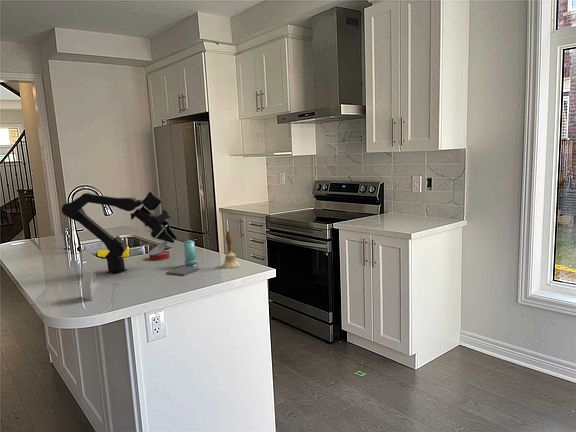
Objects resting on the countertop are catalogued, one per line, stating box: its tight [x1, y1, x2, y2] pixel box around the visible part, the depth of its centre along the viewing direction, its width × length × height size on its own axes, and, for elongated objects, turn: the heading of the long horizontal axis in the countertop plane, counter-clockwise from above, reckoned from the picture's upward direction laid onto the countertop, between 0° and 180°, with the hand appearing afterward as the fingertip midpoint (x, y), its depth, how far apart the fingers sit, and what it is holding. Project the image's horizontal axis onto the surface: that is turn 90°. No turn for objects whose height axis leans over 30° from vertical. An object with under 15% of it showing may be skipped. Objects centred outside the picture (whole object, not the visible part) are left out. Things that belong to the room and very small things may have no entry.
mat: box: [165, 266, 200, 277], centre depth 194 cm, size 10×10×1 cm
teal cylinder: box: [183, 239, 198, 264], centre depth 203 cm, size 6×6×10 cm
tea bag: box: [80, 269, 102, 302], centre depth 162 cm, size 4×7×10 cm, turn 51°
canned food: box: [148, 241, 171, 262], centre depth 224 cm, size 11×10×10 cm
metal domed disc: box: [183, 261, 199, 268], centre depth 204 cm, size 6×6×2 cm
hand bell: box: [221, 230, 241, 269], centre depth 199 cm, size 8×8×16 cm
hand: (175, 240), depth 202 cm, fingers open, 9 cm apart
